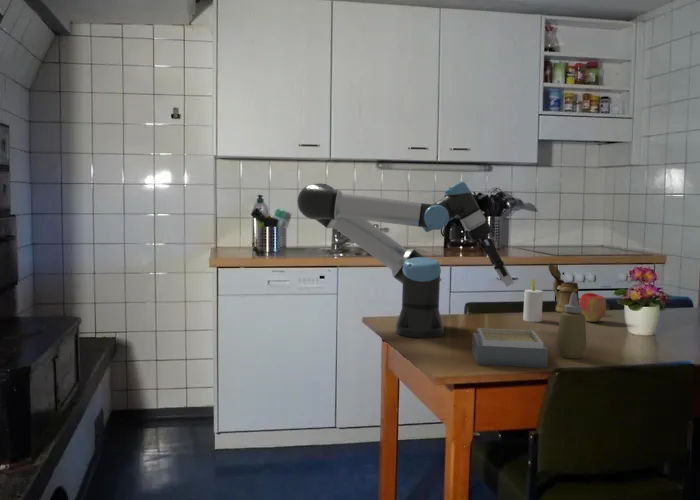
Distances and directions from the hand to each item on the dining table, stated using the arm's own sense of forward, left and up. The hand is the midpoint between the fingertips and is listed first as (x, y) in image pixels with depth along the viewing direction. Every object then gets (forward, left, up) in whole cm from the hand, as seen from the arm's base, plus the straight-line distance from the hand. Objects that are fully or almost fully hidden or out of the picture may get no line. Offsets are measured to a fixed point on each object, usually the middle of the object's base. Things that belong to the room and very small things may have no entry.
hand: (508, 282), depth 224 cm
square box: (-5, -40, -16) cm, 43 cm away
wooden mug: (+26, +40, -16) cm, 51 cm away
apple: (+32, +20, -16) cm, 41 cm away
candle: (+11, +18, -16) cm, 27 cm away
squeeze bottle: (+13, -34, -16) cm, 40 cm away
